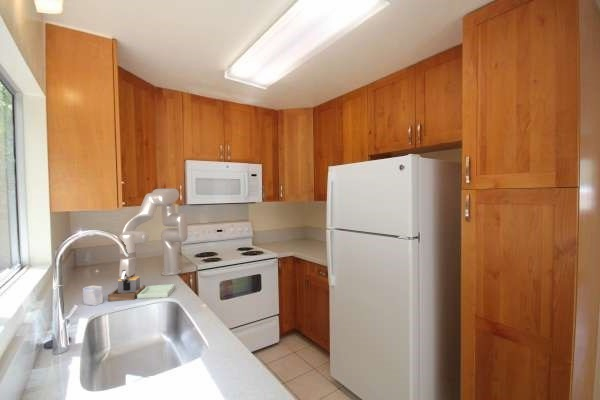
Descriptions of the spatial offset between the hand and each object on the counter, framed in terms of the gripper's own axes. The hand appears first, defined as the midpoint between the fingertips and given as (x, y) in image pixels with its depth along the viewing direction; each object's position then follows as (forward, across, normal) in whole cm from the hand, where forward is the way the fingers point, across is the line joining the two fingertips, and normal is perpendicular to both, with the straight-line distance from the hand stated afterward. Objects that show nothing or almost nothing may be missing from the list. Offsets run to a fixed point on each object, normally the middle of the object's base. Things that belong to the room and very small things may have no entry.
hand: (129, 287), depth 151 cm
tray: (+4, +2, +15) cm, 16 cm away
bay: (+4, +2, 0) cm, 4 cm away
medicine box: (+4, +10, -13) cm, 17 cm away
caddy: (+2, 0, 0) cm, 2 cm away
